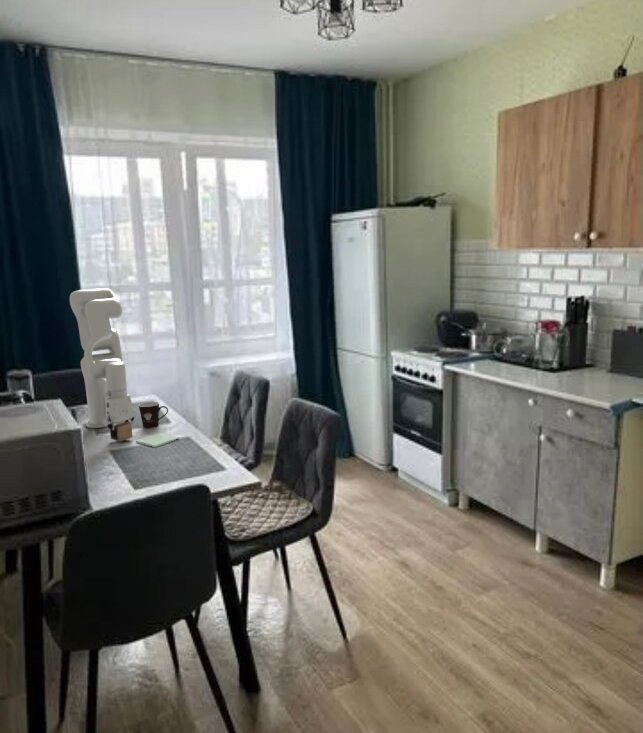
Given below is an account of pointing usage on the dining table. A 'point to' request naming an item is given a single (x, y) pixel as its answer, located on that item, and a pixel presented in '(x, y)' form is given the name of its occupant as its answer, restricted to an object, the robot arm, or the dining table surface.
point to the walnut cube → (123, 431)
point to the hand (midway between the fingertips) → (121, 435)
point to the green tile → (157, 439)
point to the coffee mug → (150, 414)
